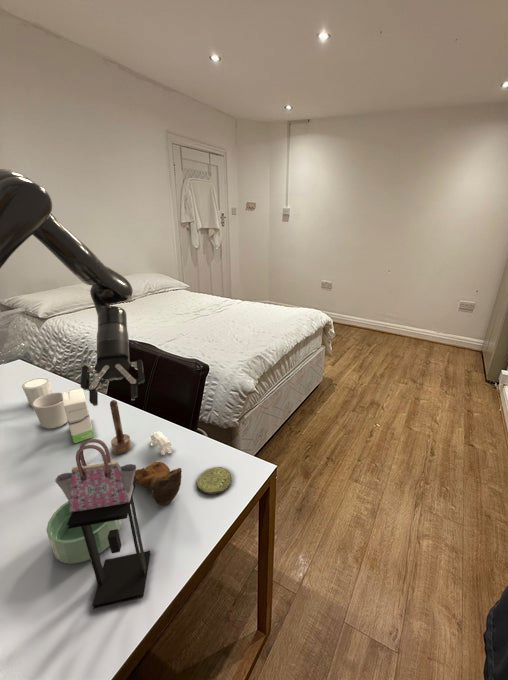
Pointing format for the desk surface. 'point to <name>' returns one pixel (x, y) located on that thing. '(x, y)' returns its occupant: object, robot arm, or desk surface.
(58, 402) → the cup
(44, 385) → the white cup
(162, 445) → the figurine
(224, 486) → the medallion
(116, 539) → the handbag
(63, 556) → the bowl
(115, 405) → the brown wooden pestle
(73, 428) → the ink box
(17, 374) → the desk surface
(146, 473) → the sculpture
